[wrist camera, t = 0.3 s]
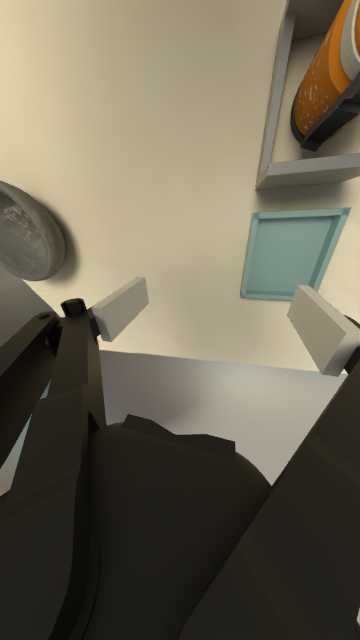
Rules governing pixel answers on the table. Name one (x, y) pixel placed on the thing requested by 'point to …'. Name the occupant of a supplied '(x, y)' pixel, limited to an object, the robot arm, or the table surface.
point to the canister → (330, 82)
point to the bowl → (28, 236)
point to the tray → (289, 251)
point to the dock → (298, 22)
